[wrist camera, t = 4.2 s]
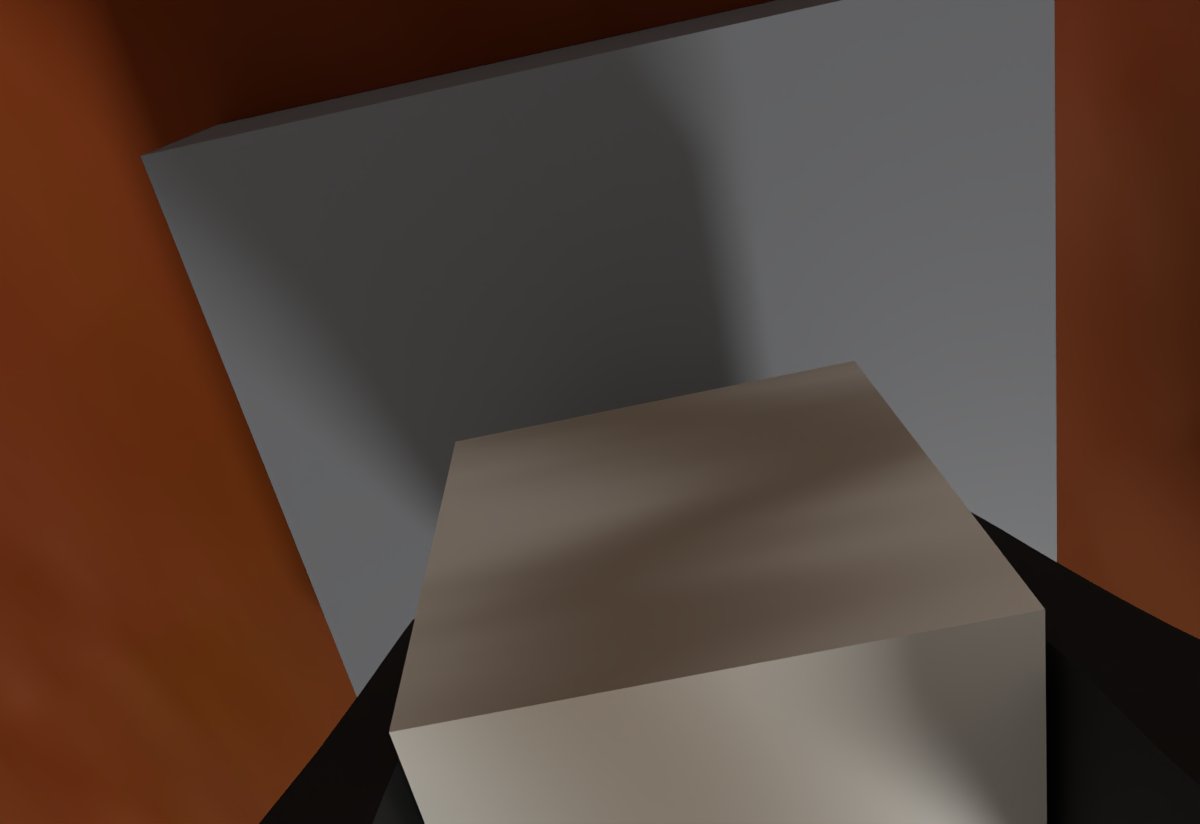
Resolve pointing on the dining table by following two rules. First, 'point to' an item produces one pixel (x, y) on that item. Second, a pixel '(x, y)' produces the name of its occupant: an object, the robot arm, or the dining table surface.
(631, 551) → the cream cube
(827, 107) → the gray base
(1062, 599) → the robot arm
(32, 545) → the dining table surface
